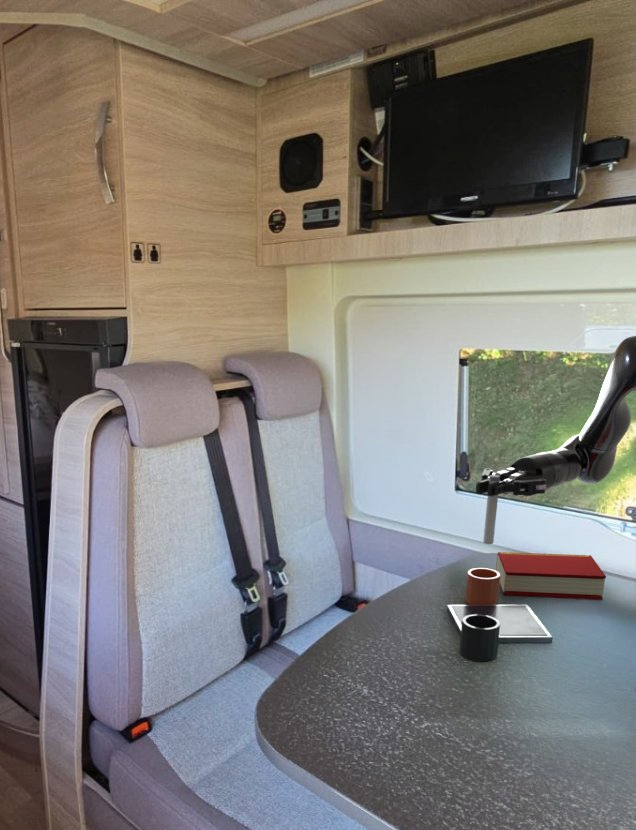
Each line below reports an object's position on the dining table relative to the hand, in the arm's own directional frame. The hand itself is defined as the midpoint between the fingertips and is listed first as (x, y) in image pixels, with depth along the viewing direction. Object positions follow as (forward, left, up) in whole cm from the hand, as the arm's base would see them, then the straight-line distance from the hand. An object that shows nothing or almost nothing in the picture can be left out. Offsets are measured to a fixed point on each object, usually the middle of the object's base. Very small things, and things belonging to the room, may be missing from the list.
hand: (483, 489), depth 131 cm
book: (-17, -12, -24) cm, 32 cm away
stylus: (-2, -2, -11) cm, 11 cm away
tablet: (-2, +7, -24) cm, 25 cm away
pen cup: (-2, -4, -24) cm, 24 cm away
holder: (+4, +18, -24) cm, 30 cm away
